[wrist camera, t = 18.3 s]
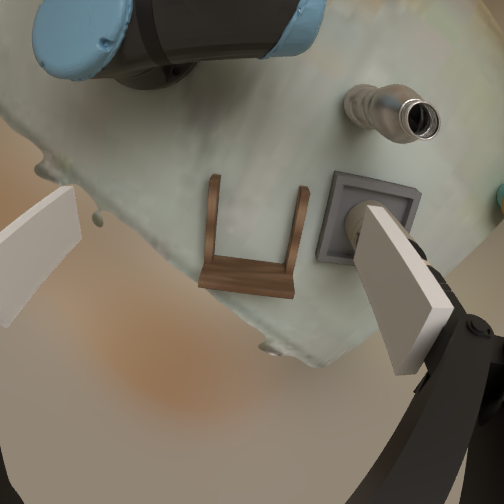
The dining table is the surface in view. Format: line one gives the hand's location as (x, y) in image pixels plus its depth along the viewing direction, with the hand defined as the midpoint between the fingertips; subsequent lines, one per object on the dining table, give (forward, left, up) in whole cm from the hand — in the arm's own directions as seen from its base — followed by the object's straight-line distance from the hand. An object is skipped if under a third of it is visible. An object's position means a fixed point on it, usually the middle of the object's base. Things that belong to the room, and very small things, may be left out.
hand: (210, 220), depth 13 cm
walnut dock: (+16, +3, -34) cm, 38 cm away
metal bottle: (-6, +16, -34) cm, 38 cm away
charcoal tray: (+12, +21, -34) cm, 41 cm away
